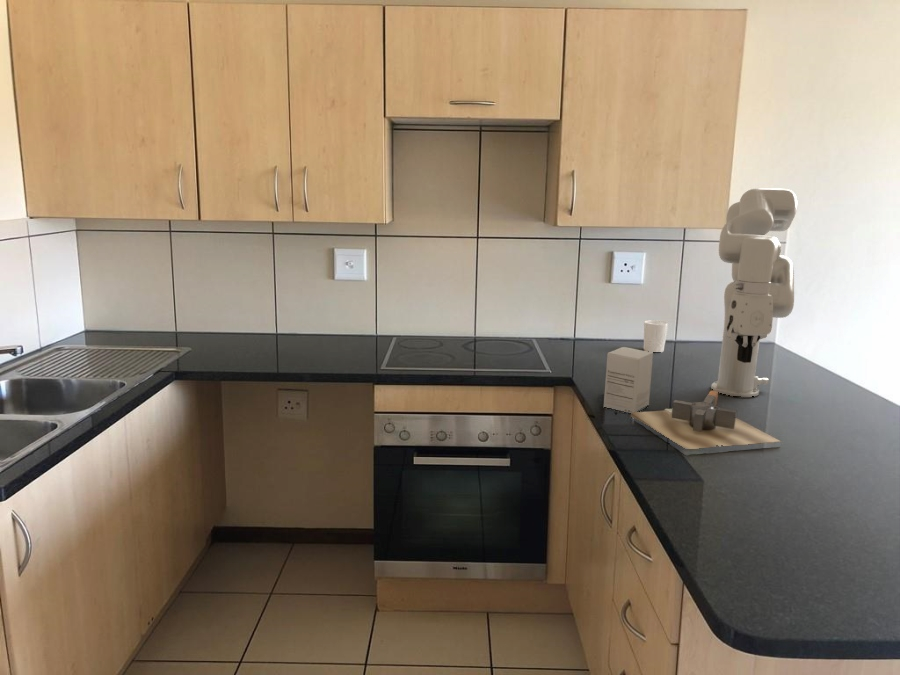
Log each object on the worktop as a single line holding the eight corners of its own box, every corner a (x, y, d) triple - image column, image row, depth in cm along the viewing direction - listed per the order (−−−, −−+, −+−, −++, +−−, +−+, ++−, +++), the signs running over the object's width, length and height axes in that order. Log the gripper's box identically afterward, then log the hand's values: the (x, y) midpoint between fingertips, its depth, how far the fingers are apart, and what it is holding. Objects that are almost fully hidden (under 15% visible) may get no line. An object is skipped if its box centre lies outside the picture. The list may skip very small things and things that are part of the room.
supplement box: (617, 399, 187) (622, 345, 183) (649, 407, 181) (654, 351, 178) (602, 407, 180) (606, 352, 176) (634, 415, 174) (639, 358, 171)
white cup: (637, 348, 243) (639, 321, 241) (654, 347, 246) (657, 319, 244) (652, 354, 236) (654, 325, 234) (670, 352, 239) (673, 324, 237)
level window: (686, 409, 175) (686, 407, 175) (692, 413, 172) (692, 410, 172) (664, 411, 173) (664, 408, 173) (670, 414, 171) (670, 412, 171)
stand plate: (714, 412, 178) (715, 406, 178) (779, 447, 155) (781, 440, 155) (630, 418, 172) (631, 411, 172) (685, 455, 149) (686, 448, 149)
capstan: (684, 404, 179) (685, 386, 177) (742, 414, 172) (744, 395, 171) (665, 428, 161) (667, 408, 160) (729, 440, 154) (731, 420, 153)
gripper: (736, 290, 163) (727, 366, 167) (789, 290, 166) (779, 364, 170) (716, 286, 170) (708, 358, 174) (768, 285, 174) (759, 356, 177)
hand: (743, 361), depth 172 cm, fingers closed
